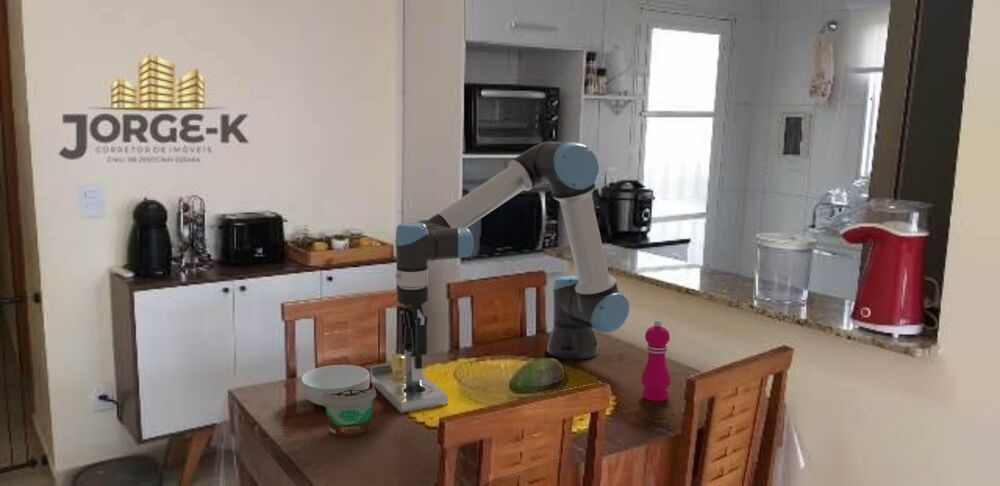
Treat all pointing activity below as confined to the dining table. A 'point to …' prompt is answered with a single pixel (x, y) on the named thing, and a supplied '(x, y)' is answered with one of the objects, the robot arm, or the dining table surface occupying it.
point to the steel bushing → (411, 385)
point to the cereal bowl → (333, 381)
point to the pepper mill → (656, 364)
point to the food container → (349, 412)
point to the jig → (404, 386)
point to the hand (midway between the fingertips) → (414, 377)
